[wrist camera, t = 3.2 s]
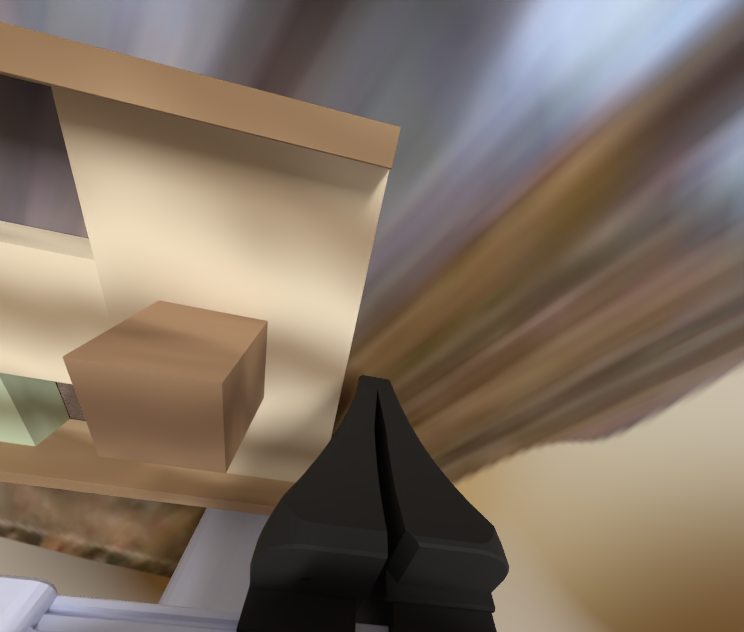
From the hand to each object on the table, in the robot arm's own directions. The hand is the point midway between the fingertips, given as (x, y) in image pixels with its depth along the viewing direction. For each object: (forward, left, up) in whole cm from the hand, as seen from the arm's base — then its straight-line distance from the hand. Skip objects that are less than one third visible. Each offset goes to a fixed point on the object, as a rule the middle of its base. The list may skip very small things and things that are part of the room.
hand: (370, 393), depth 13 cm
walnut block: (0, +7, -1) cm, 7 cm away
